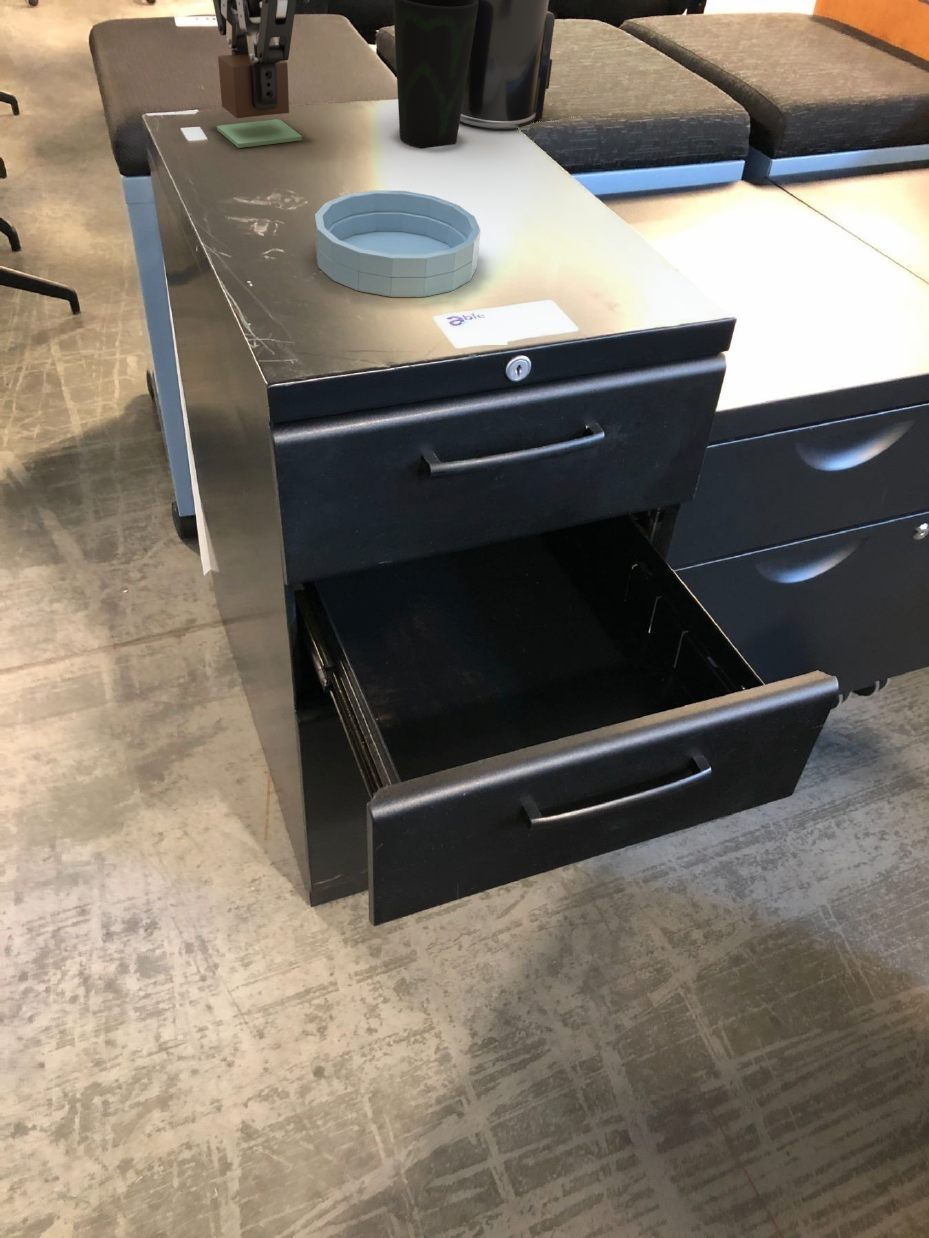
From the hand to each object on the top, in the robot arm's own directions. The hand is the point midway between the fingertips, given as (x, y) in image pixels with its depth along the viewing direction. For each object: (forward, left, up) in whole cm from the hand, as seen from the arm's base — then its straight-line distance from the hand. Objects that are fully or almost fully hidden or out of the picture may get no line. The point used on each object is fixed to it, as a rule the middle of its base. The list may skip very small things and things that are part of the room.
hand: (255, 100), depth 89 cm
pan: (+2, +29, -3) cm, 30 cm away
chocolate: (0, 0, -1) cm, 1 cm away
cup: (-15, +6, -3) cm, 17 cm away
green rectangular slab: (0, 0, -3) cm, 3 cm away
